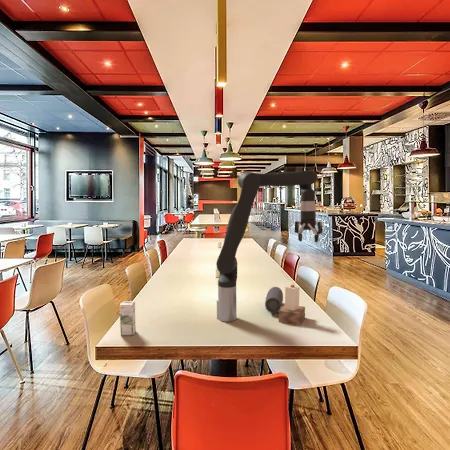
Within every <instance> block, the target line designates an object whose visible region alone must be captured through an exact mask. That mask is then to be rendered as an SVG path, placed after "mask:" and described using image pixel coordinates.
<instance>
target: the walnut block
mask: <svg viewBox="0 0 450 450" xmlns="http://www.w3.org/2000/svg"><path fill="white" fill-rule="evenodd" d="M305 318H306V306H303V305H301V306H300V305H299V309H297V310H295V311H292V310H288V309H285V304H282V306H281V308H280V310H279V311H278V323H282V324H291V325H297V326H302V324H303V322H304V320H305Z"/></svg>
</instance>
